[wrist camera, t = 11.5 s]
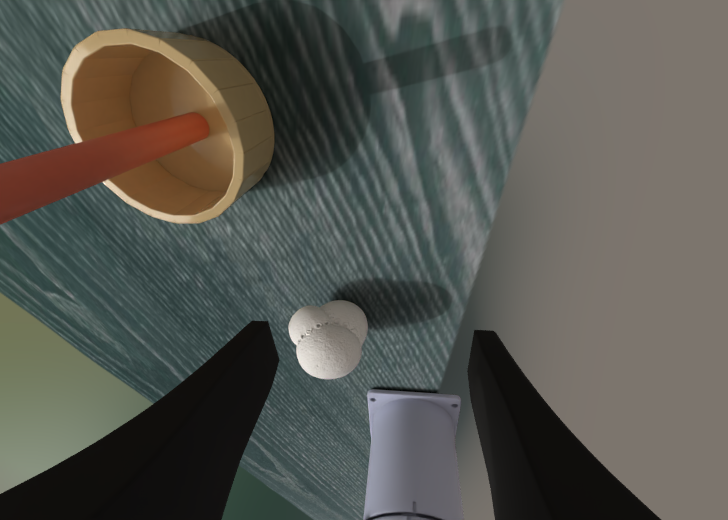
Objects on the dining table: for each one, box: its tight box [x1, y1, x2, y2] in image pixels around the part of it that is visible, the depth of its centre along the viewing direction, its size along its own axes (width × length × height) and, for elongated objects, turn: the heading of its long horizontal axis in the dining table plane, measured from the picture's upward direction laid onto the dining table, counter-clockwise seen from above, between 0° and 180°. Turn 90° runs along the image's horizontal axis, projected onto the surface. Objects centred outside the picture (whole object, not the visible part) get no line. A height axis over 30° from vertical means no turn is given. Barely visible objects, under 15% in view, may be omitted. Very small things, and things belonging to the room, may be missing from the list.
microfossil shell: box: [288, 300, 368, 379], centre depth 22 cm, size 4×5×6 cm
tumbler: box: [61, 28, 275, 223], centre depth 16 cm, size 8×8×4 cm
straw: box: [0, 112, 209, 224], centre depth 13 cm, size 1×1×11 cm
